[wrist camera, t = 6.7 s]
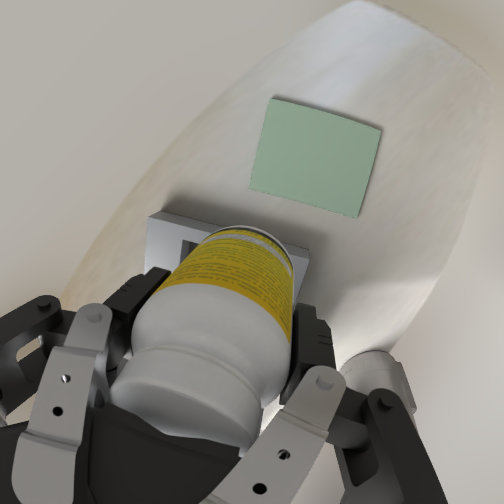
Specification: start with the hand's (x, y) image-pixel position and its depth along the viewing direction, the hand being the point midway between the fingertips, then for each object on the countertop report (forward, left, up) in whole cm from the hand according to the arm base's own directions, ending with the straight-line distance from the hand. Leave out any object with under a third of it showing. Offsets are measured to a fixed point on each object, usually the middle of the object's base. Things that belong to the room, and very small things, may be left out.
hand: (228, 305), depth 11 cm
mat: (-3, -7, -20) cm, 21 cm away
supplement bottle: (0, 0, -4) cm, 4 cm away
